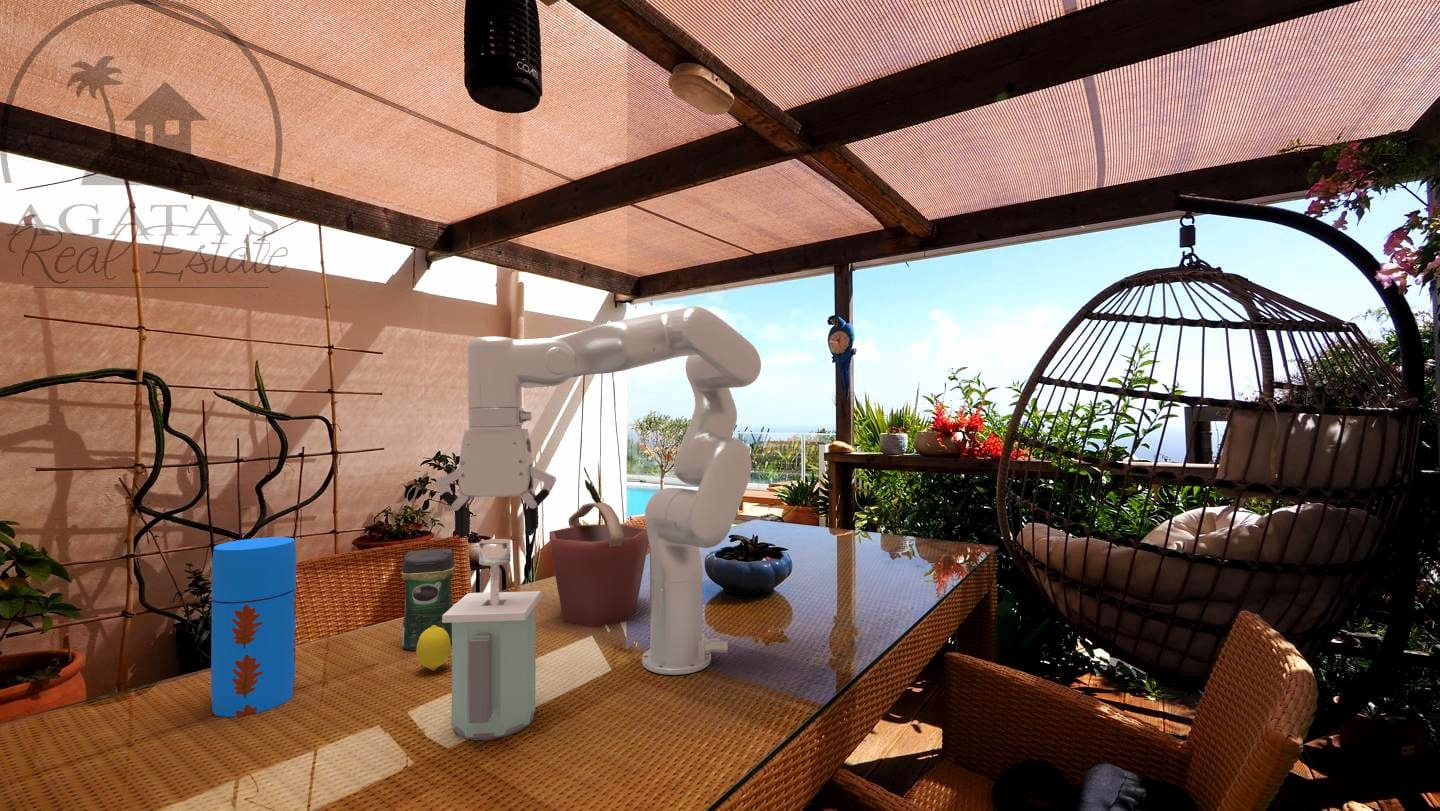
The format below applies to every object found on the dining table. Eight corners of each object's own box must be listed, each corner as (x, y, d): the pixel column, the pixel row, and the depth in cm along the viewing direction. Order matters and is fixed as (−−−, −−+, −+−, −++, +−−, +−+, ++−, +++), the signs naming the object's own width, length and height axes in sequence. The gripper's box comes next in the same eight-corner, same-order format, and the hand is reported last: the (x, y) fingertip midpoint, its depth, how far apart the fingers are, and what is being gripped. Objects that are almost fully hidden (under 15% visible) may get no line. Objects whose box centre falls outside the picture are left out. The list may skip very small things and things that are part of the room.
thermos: (202, 723, 93) (203, 553, 94) (219, 695, 103) (220, 540, 103) (290, 707, 98) (291, 545, 99) (299, 682, 108) (300, 534, 108)
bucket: (548, 603, 153) (548, 499, 153) (639, 595, 159) (638, 495, 160) (553, 637, 129) (552, 514, 130) (659, 625, 136) (659, 508, 136)
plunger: (528, 693, 98) (528, 536, 98) (515, 718, 90) (515, 546, 90) (475, 695, 97) (475, 537, 98) (457, 720, 89) (458, 547, 90)
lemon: (437, 678, 109) (437, 631, 109) (409, 675, 110) (409, 629, 110) (457, 665, 115) (457, 621, 115) (429, 663, 116) (430, 619, 116)
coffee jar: (457, 634, 131) (457, 544, 131) (452, 647, 123) (452, 552, 124) (405, 639, 128) (406, 547, 129) (397, 653, 121) (398, 555, 121)
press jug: (520, 747, 86) (520, 618, 86) (435, 750, 85) (435, 621, 86) (541, 702, 100) (541, 591, 100) (467, 705, 99) (468, 593, 99)
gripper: (558, 418, 99) (560, 528, 99) (444, 420, 98) (446, 532, 97) (549, 419, 91) (551, 538, 91) (426, 421, 90) (427, 542, 90)
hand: (497, 535), depth 94 cm, fingers open, 9 cm apart
